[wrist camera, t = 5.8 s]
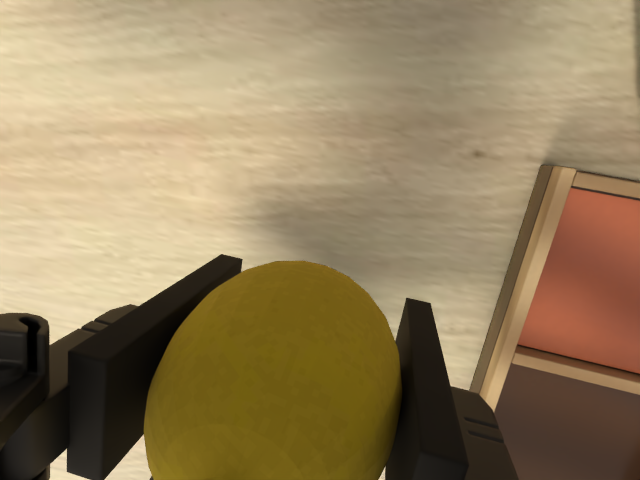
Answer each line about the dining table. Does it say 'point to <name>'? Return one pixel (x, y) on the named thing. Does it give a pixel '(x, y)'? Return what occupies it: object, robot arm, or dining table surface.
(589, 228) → the wooden compartment tray
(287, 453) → the lemon
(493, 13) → the dining table surface
